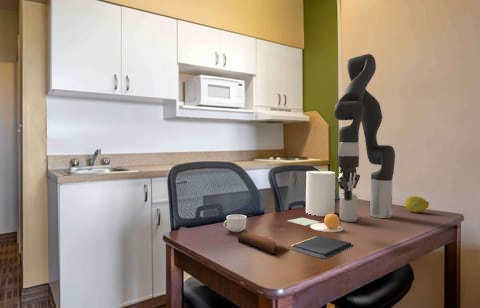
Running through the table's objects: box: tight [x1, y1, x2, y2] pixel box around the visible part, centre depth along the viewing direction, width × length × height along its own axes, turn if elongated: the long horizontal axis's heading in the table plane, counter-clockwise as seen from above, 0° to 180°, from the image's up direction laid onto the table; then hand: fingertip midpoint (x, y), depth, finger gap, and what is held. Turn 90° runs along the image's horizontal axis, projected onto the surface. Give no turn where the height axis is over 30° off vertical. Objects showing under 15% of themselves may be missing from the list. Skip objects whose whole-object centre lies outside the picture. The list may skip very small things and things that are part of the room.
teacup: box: [222, 214, 247, 233], centre depth 125 cm, size 10×8×5 cm
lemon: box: [404, 195, 430, 214], centre depth 162 cm, size 11×8×8 cm
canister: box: [305, 170, 336, 217], centre depth 158 cm, size 14×14×20 cm
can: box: [338, 192, 359, 223], centre depth 144 cm, size 8×8×12 cm
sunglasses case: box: [237, 231, 292, 256], centre depth 107 cm, size 18×7×7 cm
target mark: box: [309, 222, 344, 233], centre depth 131 cm, size 13×13×1 cm
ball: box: [323, 213, 341, 229], centre depth 129 cm, size 6×6×6 cm
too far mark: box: [287, 217, 321, 227], centre depth 141 cm, size 10×10×1 cm
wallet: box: [286, 235, 355, 260], centre depth 107 cm, size 20×2×15 cm
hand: (347, 200), depth 124 cm, fingers closed
